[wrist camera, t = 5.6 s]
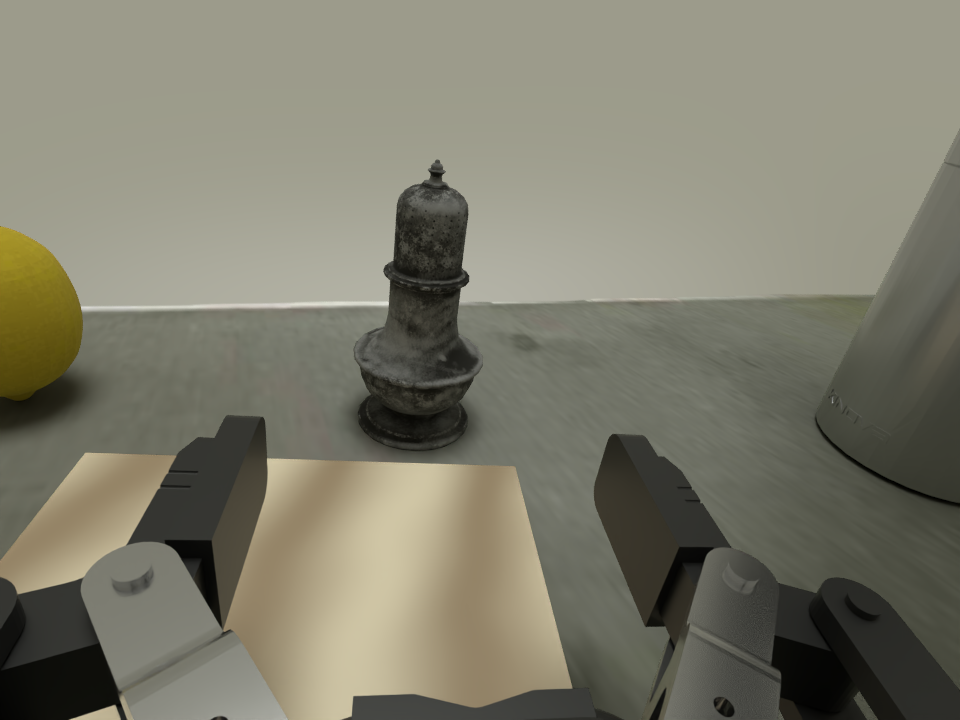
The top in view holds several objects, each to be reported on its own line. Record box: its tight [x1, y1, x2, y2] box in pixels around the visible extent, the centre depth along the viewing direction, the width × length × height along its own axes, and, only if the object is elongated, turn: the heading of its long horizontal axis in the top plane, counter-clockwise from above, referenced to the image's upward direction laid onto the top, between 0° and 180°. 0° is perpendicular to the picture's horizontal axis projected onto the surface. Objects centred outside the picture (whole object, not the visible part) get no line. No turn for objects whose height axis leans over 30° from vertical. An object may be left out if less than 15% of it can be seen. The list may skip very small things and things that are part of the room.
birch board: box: [0, 453, 572, 720], centre depth 17 cm, size 16×12×1 cm
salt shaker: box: [354, 160, 483, 450], centre depth 24 cm, size 6×6×12 cm
